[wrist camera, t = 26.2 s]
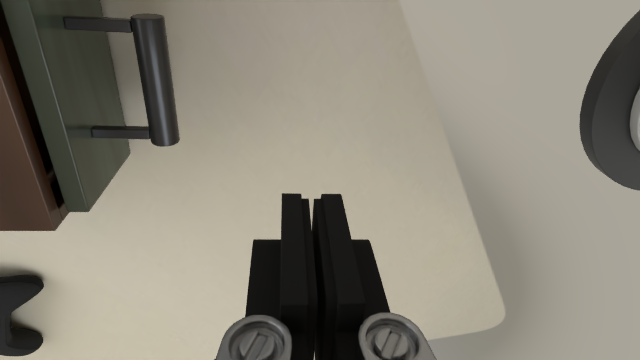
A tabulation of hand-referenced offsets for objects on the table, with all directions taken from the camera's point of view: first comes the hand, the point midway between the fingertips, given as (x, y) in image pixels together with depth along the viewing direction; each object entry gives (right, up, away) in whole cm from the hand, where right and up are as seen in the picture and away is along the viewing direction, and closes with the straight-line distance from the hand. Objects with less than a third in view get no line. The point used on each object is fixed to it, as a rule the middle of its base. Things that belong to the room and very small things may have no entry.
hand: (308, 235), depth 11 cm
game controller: (-29, -10, +25) cm, 39 cm away
